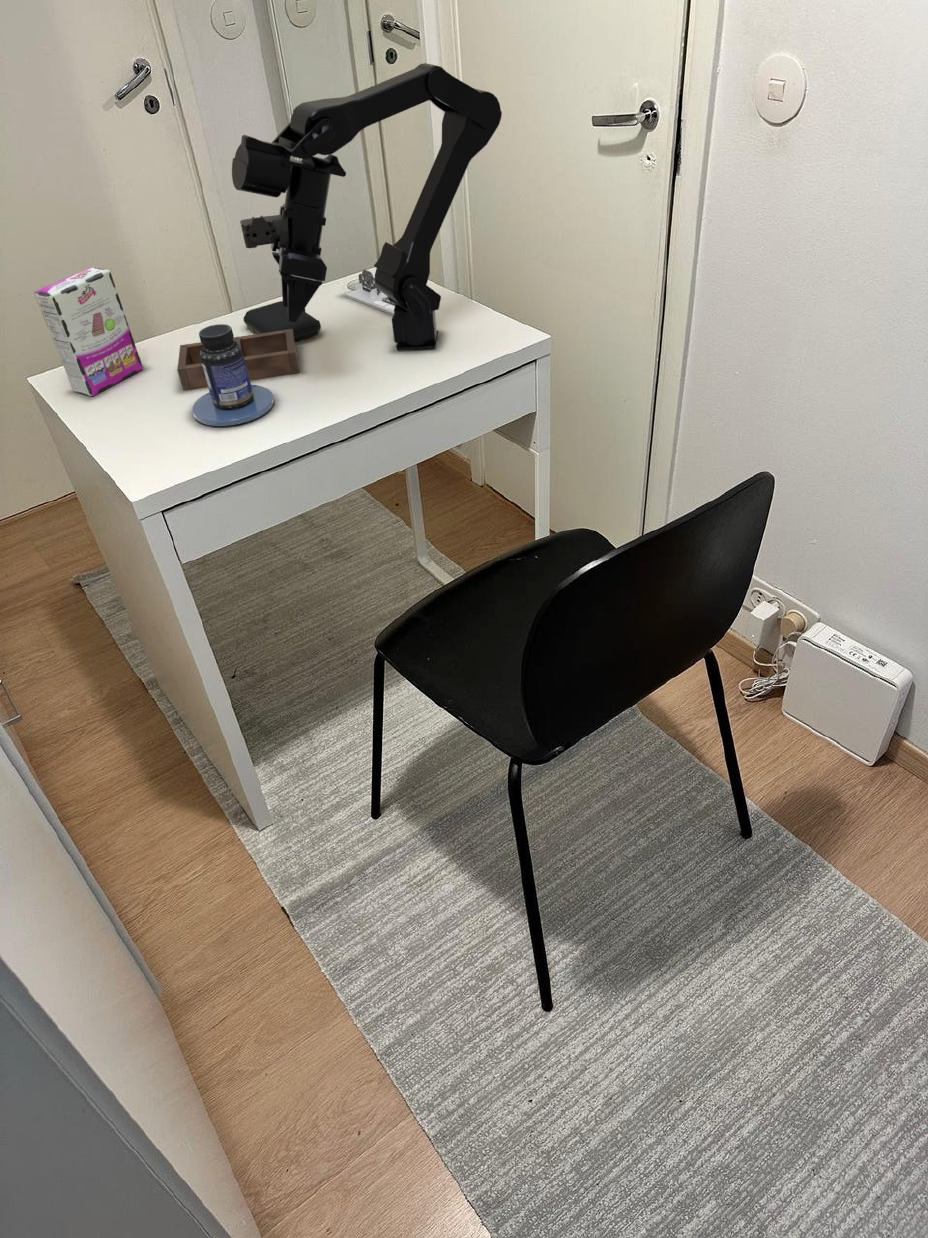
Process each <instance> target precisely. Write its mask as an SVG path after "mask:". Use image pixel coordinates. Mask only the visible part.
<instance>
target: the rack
mask: <svg viewBox="0 0 928 1238" xmlns="http://www.w3.org/2000/svg"><path fill="white" fill-rule="evenodd" d="M233 341H236V342H237V343H239V344H240V345H241V348H242V351H243V355H244V359H245V363H246V367H247V371H248V375H249V379H250V381H254V380H262V379H267V378H275V377H280V376H287V375H294V374H300V373H301V372H300V365H299V364H300V363H299V356H298V350H297V344H296V343H295V339H294V334H293V329H287V330H281V331H274V332H268V333H261V334H257V333H255V334H247V335H241V336H234V337H233ZM203 346H204V345H203V344H202V343H201V341H200V342H199V341H198V342H193V343H186V344H180V345H179V354H178V360H177V361H178V362H177V367H176V368H177V369H176V371H177V374H178V377H179V380H180V383H181V384H180V385H181V387H182V390H183V391H189V390H195V389H202V388H209V387H208V384H207V380H206V377H205V373H204V370H203V366H202V362H201V359H200V351H201V349H202V348H203Z"/></svg>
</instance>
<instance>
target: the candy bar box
mask: <svg viewBox="0 0 928 1238" xmlns="http://www.w3.org/2000/svg"><path fill="white" fill-rule="evenodd" d="M33 293H34V296H35V299H36V301H37V303H38V307H39V309H40V311H41V313H42V316H43V319H44V321H45V324H46V326H47V329H48V331H49V333H50V336H51V338H52V341H53V343H54V346H55V349H56V351H57V354H58V355H59V358H60V361H61V364H62V365H63V368H64V371H65V374H66V376H67V378H68V381H69V383H70V386H71V388H72V390H73V392H74V393H77V394H81V395H85V396H89V397H94V396H96V395H98V394H100V393H102V392H104V391H105V390H107V389H109V388H111V387H113V386H114V385H116V384H118V383H120V382H122V381H123V380H126V379H127V378H130V377H131V376H133V375H134V374H136V373H138V372H140V371H142V370H143V369H144V366H143V364H142V360H141V358H140V355H139V352H138V349H137V346H136V343H135V340H134V337H133V335H132V332H131V328H130V326H129V323H128V321H127V316H126V314H125V311H124V308H123V306H122V302H121V298H120V296H119V293H118V290H117V288H116V284H115V281H114V278H113V275H112V273H111V270H110V269H105V268H99V267H95V266H90V267H88V268H86V269H83V270H80V271H78V272H75V273H74V274H72V275H69V276H67V277H65V278H63V279H60V280H58V281H55V282H53V283H51V284H49V285H47V286H44V287H42V288H40V289H37V290H35V291H34V292H33Z"/></svg>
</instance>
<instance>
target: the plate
mask: <svg viewBox="0 0 928 1238" xmlns="http://www.w3.org/2000/svg"><path fill="white" fill-rule="evenodd" d="M251 387H252V391H253V400H252V401H251V402H250V403H249V404H247V405H246V406H243V407H241V408H237V409H220V408H217V407H216V406H215V405H214V404H213V401H212V398H211V394H210V391H209V392H207V393H205V394H203V395H202V396H200V397H198V399H197V400H195V402H194V403H193V405H192V413H193V417H194V418H195V419H196V420H197V421H198V422H199V423H200V424H203V425H208V426H214V427H226V426H235V425H241V424H244V423H248V422H250V421H254V420H256V419H258V418H260V417H262V416H263V415H265V414H266V413H267V412H269V411H270V410H271V408H273V405H274V401H275V400H274V396H273V393H272V391H271V390H270V389H268V388H267V387H264V386H262V385H258V384H251Z"/></svg>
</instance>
